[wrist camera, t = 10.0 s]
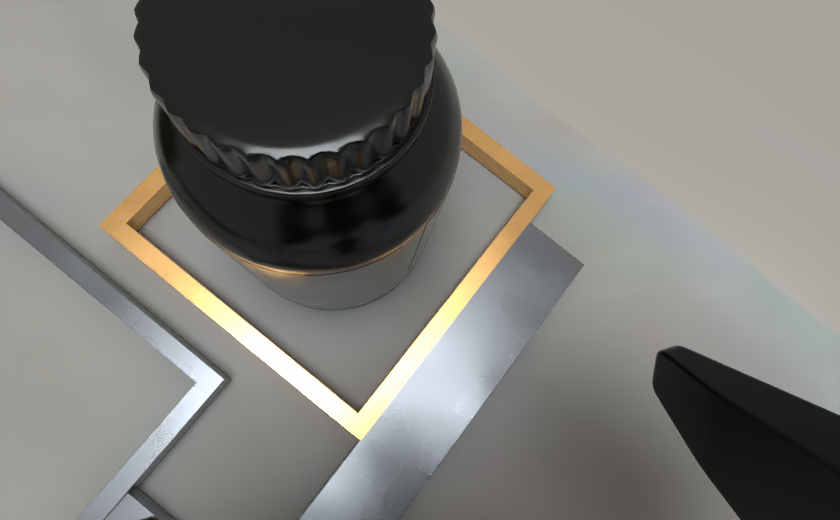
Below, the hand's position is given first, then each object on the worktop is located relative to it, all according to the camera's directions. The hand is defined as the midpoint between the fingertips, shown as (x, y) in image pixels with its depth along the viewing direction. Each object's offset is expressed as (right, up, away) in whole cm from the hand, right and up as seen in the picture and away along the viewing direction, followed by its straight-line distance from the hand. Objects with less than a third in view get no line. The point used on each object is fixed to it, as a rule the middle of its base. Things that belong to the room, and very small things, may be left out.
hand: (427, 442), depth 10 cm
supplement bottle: (-3, +5, +11) cm, 12 cm away
